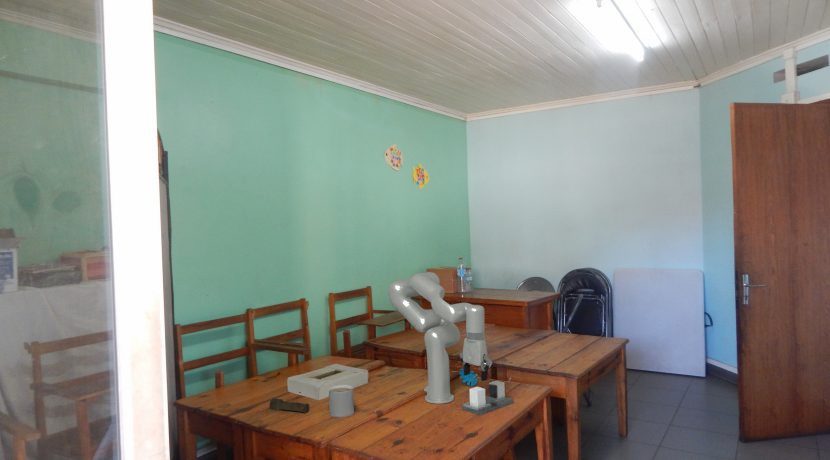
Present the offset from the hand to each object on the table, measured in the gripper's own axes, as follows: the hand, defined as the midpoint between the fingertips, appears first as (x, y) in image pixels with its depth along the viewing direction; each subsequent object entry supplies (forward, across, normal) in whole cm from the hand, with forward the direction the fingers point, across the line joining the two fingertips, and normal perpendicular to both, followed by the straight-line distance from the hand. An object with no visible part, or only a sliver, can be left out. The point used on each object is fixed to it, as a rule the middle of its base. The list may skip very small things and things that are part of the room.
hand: (475, 377), depth 213 cm
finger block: (+12, +1, 0) cm, 12 cm away
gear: (+14, -26, +23) cm, 38 cm away
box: (+16, -72, -26) cm, 78 cm away
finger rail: (+13, +1, +6) cm, 14 cm away
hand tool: (+16, -55, -56) cm, 80 cm away
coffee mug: (+15, -37, -40) cm, 56 cm away
